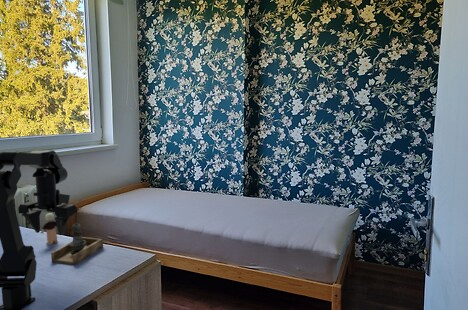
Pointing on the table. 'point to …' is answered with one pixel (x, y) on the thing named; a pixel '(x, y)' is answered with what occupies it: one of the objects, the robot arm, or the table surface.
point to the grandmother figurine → (50, 229)
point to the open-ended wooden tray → (67, 258)
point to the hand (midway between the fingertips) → (49, 233)
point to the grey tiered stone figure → (77, 239)
